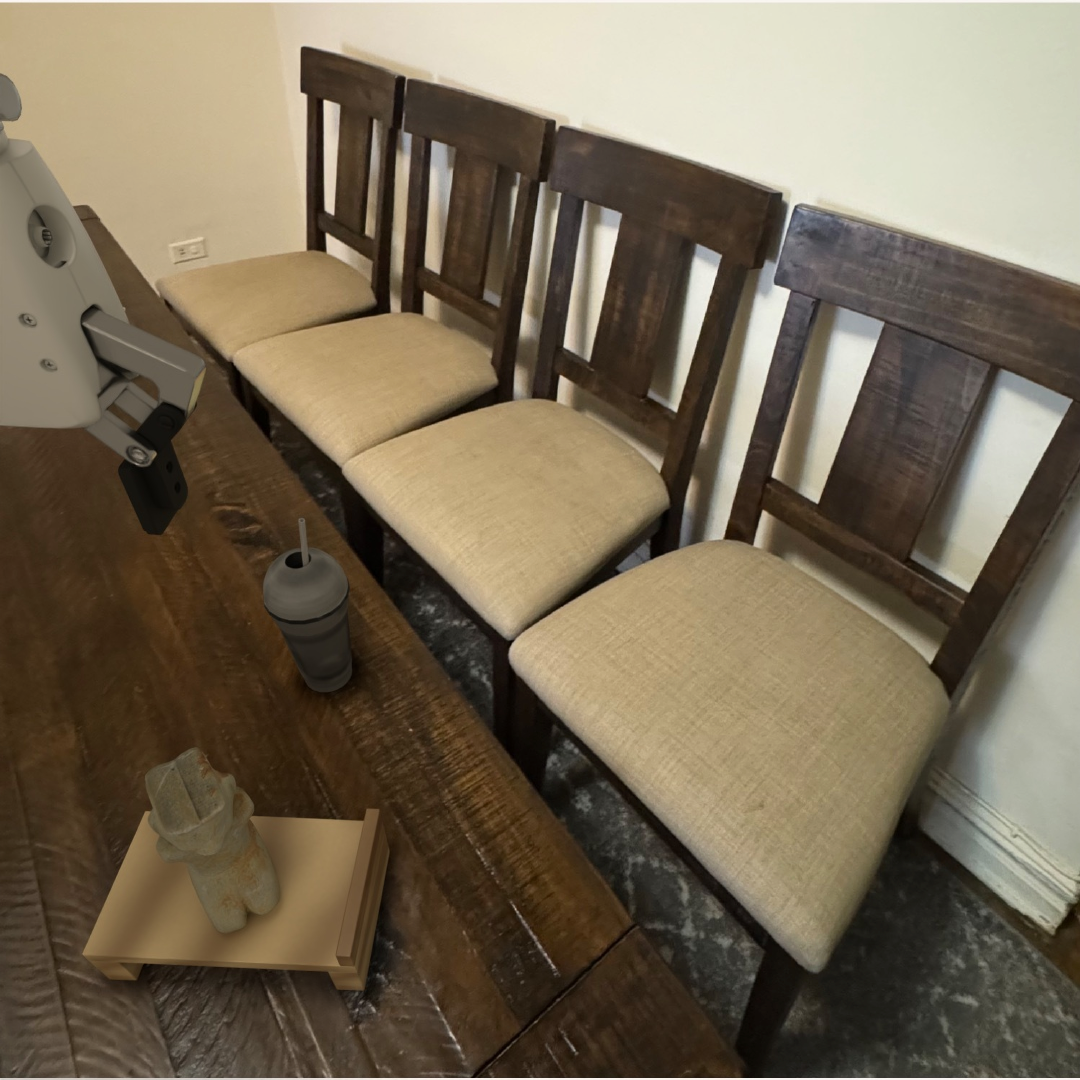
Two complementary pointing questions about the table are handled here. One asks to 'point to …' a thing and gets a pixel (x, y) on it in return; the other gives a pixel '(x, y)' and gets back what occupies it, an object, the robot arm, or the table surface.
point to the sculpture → (212, 838)
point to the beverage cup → (312, 613)
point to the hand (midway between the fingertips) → (68, 509)
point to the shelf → (267, 940)
